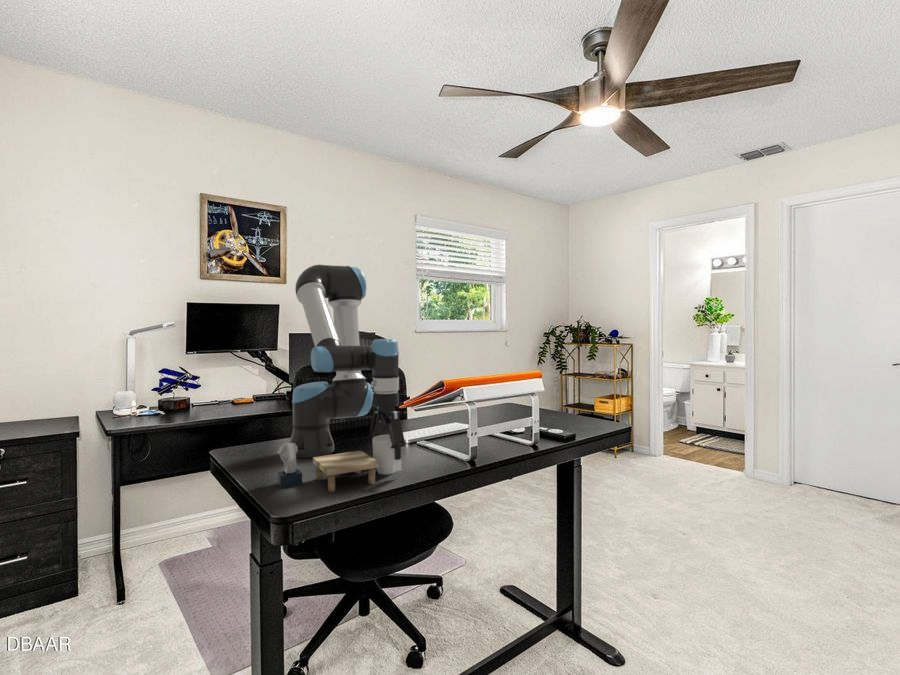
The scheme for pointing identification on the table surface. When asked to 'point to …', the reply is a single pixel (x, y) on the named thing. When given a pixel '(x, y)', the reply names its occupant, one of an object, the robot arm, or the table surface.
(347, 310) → the robot arm
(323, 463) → the small wooden table
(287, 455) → the watch
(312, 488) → the table surface
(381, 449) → the cup
